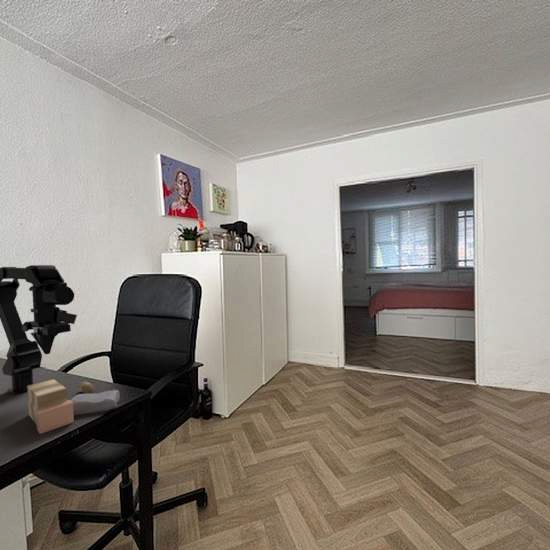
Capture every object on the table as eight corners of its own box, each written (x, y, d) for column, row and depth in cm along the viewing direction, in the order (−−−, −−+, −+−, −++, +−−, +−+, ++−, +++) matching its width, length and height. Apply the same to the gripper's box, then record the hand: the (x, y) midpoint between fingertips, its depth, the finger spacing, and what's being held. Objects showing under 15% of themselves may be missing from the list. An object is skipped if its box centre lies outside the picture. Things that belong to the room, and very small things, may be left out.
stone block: (77, 409, 89) (65, 418, 80) (78, 392, 90) (66, 398, 81) (122, 404, 93) (115, 412, 83) (122, 388, 94) (115, 393, 84)
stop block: (36, 429, 74) (35, 409, 74) (70, 418, 80) (69, 399, 80) (39, 433, 72) (38, 413, 72) (73, 422, 78) (72, 402, 78)
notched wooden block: (28, 414, 83) (27, 385, 83) (55, 406, 87) (53, 379, 87) (39, 428, 75) (37, 396, 75) (68, 419, 79) (66, 388, 79)
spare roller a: (76, 388, 98) (83, 379, 99) (84, 392, 99) (91, 383, 101) (81, 392, 94) (88, 383, 96) (89, 396, 96) (96, 387, 97)
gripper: (87, 302, 98) (89, 350, 98) (59, 301, 108) (61, 345, 108) (46, 306, 89) (49, 360, 89) (20, 305, 98) (23, 353, 99)
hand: (47, 353), depth 96 cm, fingers closed
